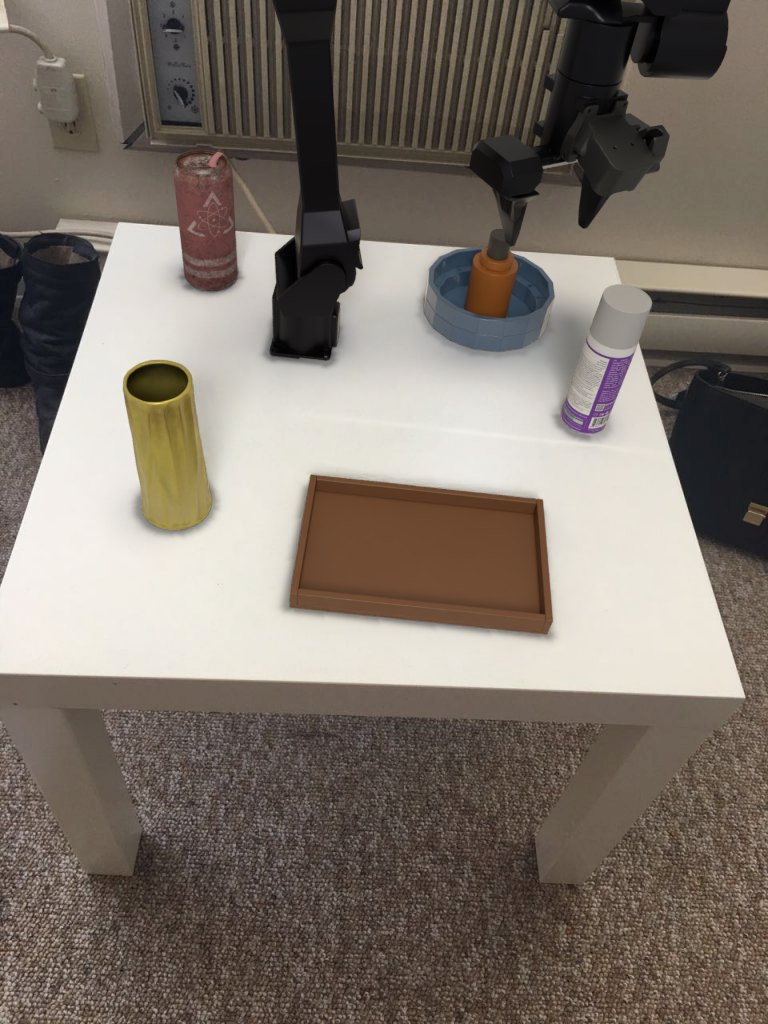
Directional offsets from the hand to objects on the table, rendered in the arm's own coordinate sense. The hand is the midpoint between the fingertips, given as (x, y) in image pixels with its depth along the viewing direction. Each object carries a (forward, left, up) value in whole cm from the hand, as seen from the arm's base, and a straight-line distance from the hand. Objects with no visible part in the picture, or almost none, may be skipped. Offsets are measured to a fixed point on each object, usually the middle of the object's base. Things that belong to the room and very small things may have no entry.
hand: (546, 235), depth 83 cm
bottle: (-4, +4, -13) cm, 14 cm away
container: (+6, -12, -13) cm, 19 cm away
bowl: (-4, +4, -13) cm, 14 cm away
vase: (-32, -29, -13) cm, 45 cm away
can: (-36, +6, -13) cm, 39 cm away
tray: (-10, -32, -13) cm, 36 cm away
